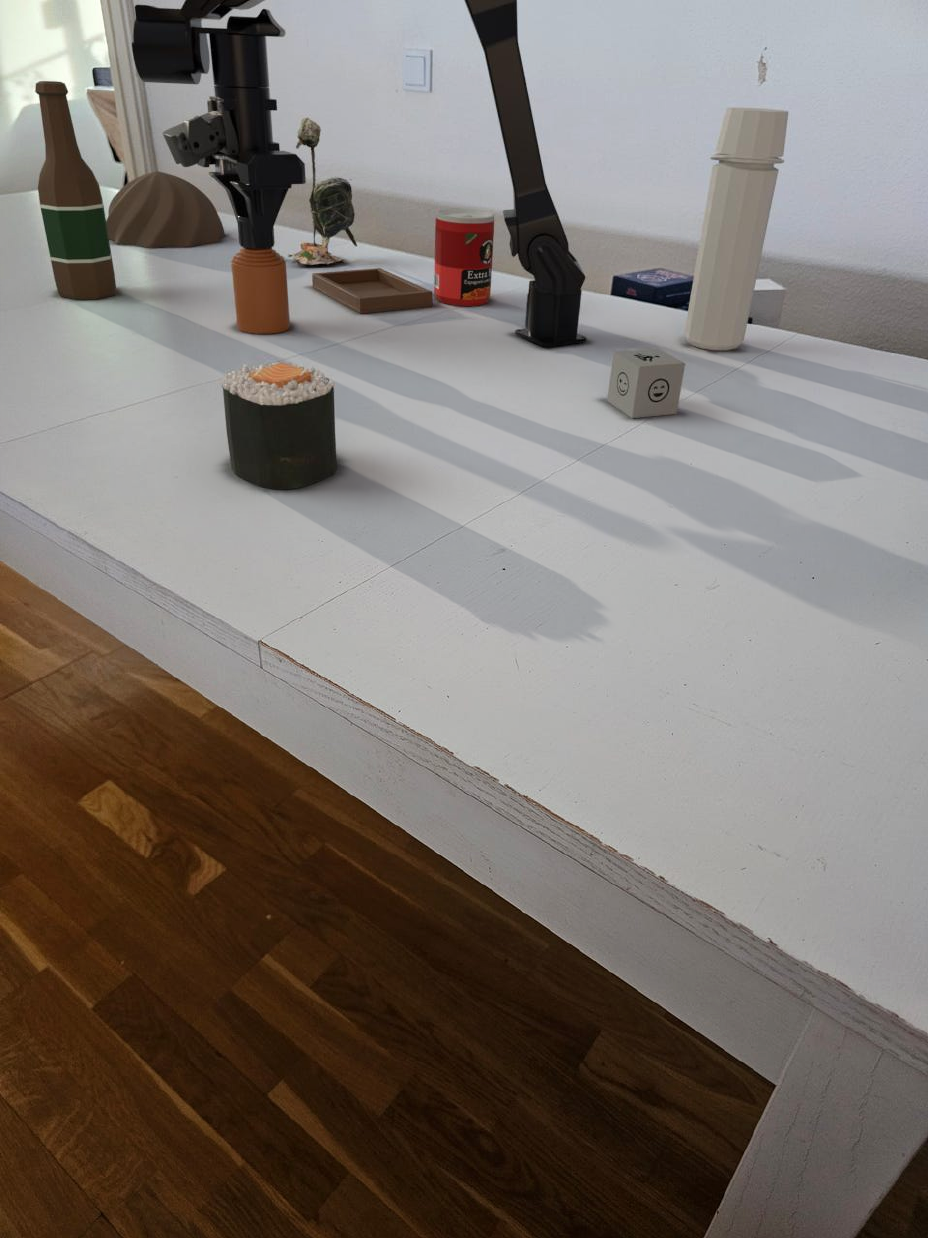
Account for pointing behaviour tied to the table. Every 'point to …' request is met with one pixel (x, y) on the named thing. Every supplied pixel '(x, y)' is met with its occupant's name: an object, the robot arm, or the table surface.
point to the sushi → (280, 425)
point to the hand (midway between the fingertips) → (254, 244)
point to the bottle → (260, 291)
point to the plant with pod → (324, 205)
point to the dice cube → (645, 382)
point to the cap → (249, 233)
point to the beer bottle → (71, 205)
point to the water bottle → (734, 226)
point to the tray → (371, 290)
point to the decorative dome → (162, 214)
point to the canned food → (463, 256)
